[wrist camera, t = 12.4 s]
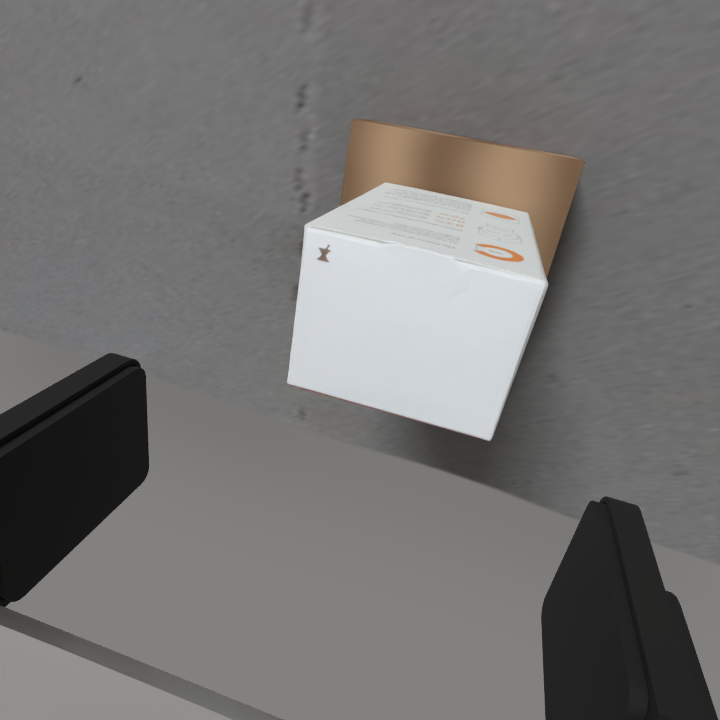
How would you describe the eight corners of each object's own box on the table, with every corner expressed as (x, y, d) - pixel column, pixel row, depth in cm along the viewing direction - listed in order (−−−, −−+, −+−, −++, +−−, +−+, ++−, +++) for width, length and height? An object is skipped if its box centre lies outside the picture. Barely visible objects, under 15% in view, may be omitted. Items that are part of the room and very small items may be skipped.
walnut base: (575, 157, 29) (584, 161, 26) (514, 348, 35) (515, 374, 31) (369, 119, 31) (352, 119, 28) (341, 306, 37) (323, 326, 33)
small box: (363, 289, 31) (280, 386, 20) (383, 179, 29) (300, 218, 17) (498, 323, 30) (492, 447, 19) (533, 211, 27) (552, 277, 16)
